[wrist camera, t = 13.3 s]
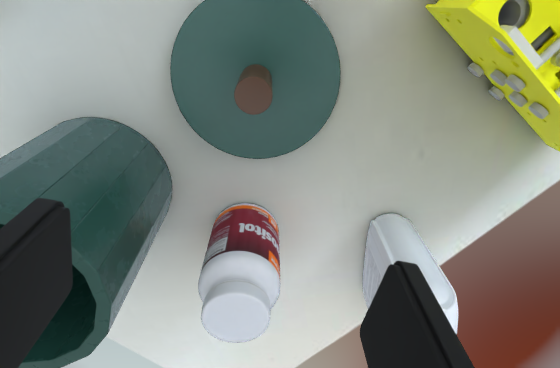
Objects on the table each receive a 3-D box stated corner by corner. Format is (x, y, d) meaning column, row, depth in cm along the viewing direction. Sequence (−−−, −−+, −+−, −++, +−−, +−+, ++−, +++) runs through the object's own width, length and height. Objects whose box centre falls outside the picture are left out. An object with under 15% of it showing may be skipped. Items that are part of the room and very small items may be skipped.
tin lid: (335, -25, 25) (352, -32, 20) (340, 145, 31) (354, 176, 25) (155, -4, 25) (124, -6, 20) (193, 160, 31) (177, 194, 26)
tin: (153, 109, 29) (63, 192, 16) (185, 230, 34) (135, 362, 22) (11, 124, 29) (-183, 217, 17) (64, 241, 34) (-53, 378, 22)
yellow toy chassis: (415, 12, 26) (473, 16, 19) (481, -60, 24) (574, -87, 17) (535, 145, 31) (619, 191, 24) (597, 94, 29) (710, 127, 22)
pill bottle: (292, 227, 34) (301, 318, 24) (248, 265, 36) (240, 363, 26) (243, 187, 32) (231, 269, 22) (199, 229, 34) (171, 321, 24)
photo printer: (398, 293, 38) (450, 411, 27) (358, 295, 38) (394, 413, 27) (412, 210, 34) (481, 312, 23) (366, 212, 34) (413, 315, 23)
